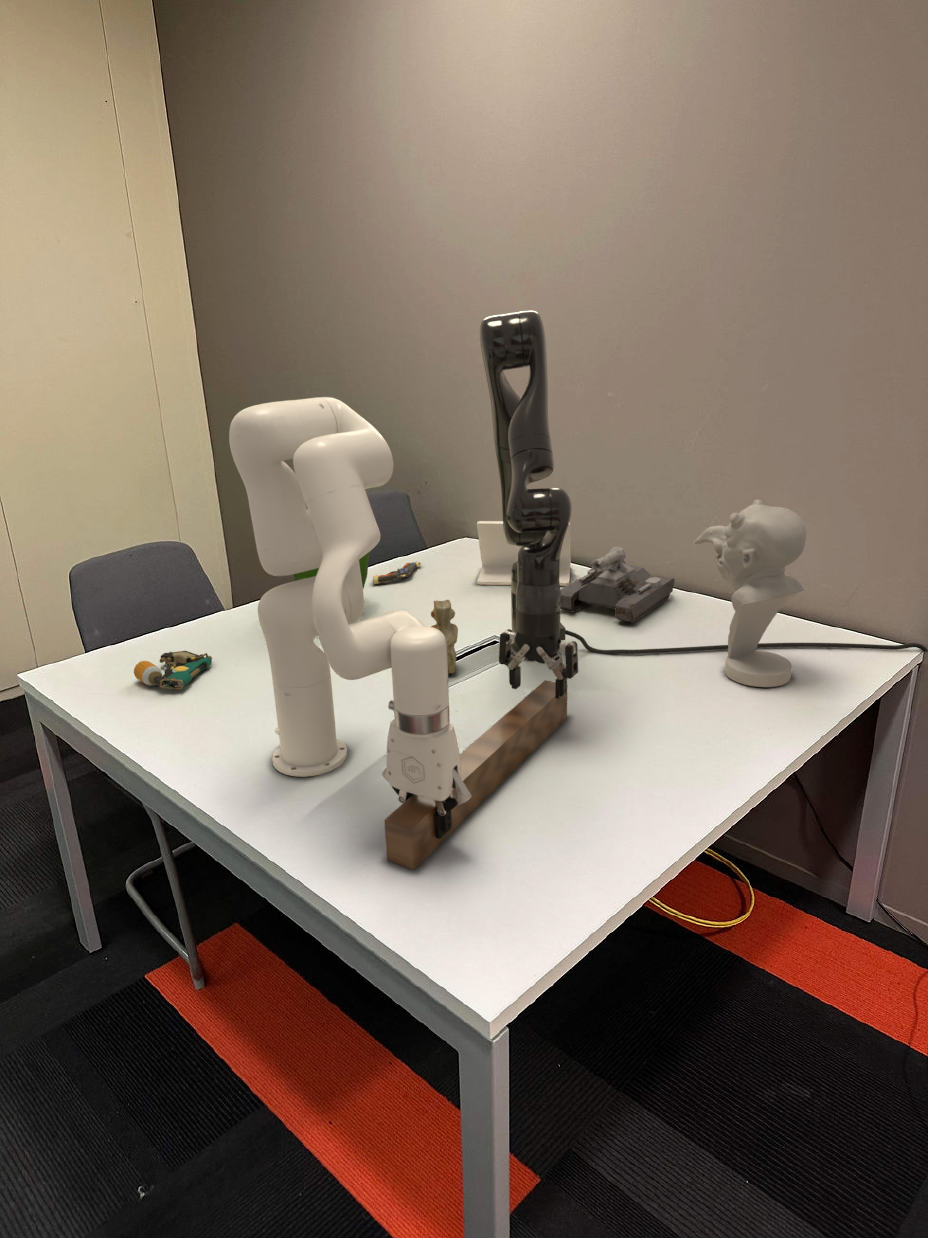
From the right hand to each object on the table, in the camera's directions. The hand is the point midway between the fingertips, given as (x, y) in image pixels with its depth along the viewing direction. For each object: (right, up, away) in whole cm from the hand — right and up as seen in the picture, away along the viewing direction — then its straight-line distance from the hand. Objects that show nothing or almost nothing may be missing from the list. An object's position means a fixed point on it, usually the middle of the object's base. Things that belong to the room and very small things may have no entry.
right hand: (537, 692), depth 150 cm
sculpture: (-17, +2, +29) cm, 34 cm away
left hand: (-18, -17, -27) cm, 37 cm away
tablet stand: (+4, +25, +89) cm, 92 cm away
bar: (-9, -13, -12) cm, 20 cm away
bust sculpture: (+44, +2, +25) cm, 50 cm away
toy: (+25, +16, +64) cm, 71 cm away
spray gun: (-74, +1, +30) cm, 80 cm away
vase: (-45, +14, +63) cm, 79 cm away
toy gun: (-32, +25, +92) cm, 100 cm away
